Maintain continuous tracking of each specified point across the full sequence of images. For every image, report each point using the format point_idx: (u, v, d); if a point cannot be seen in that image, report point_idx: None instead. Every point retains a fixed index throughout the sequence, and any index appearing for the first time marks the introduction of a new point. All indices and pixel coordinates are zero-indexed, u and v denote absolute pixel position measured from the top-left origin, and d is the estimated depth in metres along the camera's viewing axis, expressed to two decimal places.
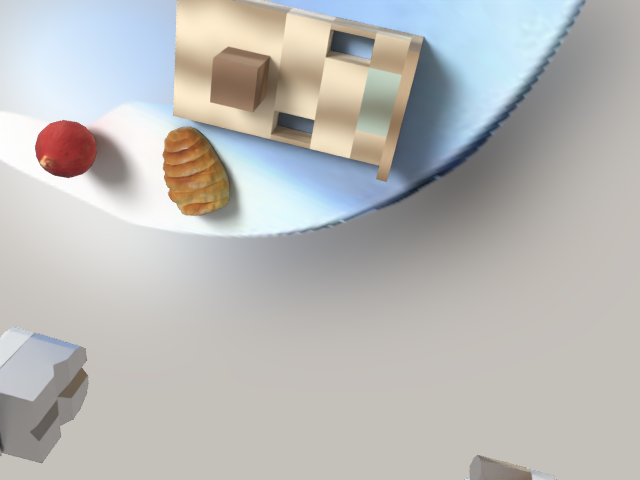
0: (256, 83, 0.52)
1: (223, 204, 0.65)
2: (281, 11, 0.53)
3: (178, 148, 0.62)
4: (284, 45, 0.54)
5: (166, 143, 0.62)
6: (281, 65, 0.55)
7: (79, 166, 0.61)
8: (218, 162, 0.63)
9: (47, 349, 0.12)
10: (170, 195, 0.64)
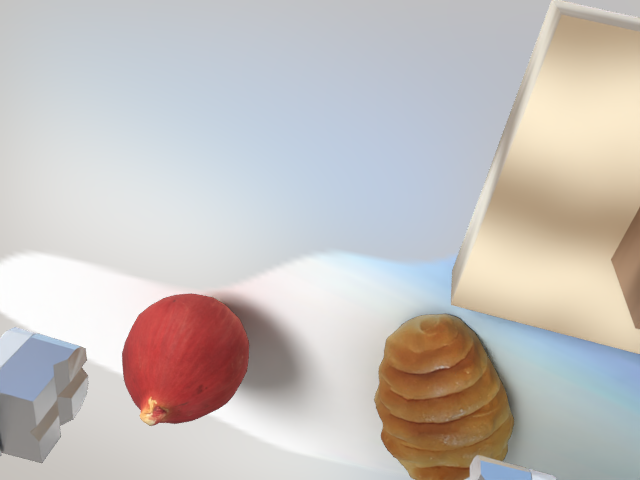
0: None
1: None
2: None
3: (427, 367, 0.28)
4: None
5: (395, 352, 0.28)
6: None
7: (221, 403, 0.27)
8: (501, 384, 0.29)
9: (47, 349, 0.12)
10: (389, 445, 0.31)
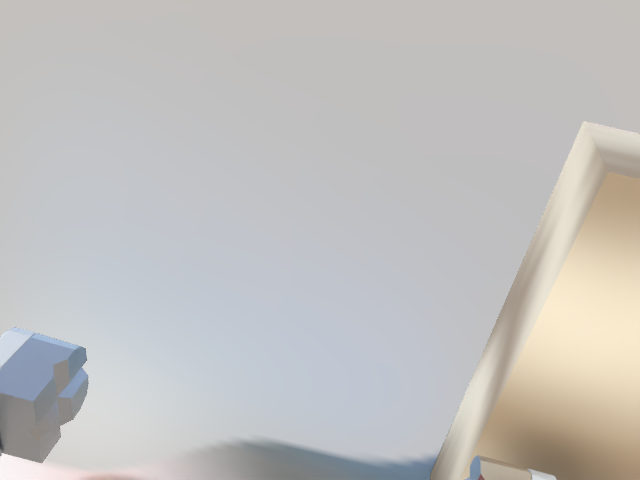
0: None
1: None
2: None
3: None
4: None
5: None
6: None
7: None
8: None
9: (47, 349, 0.12)
10: None
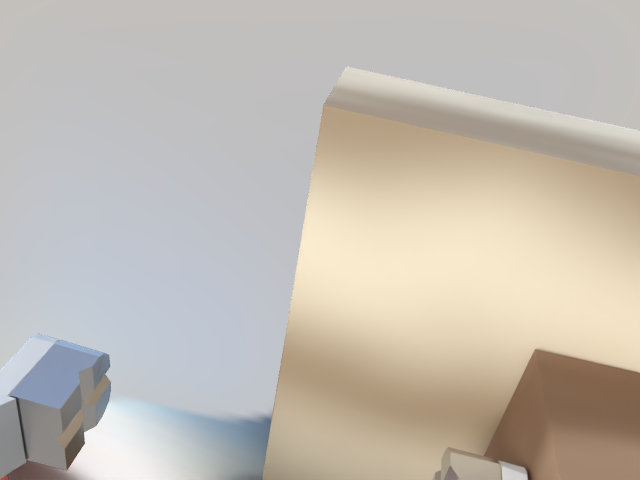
0: None
1: None
2: None
3: None
4: None
5: None
6: None
7: None
8: None
9: (72, 356, 0.12)
10: None
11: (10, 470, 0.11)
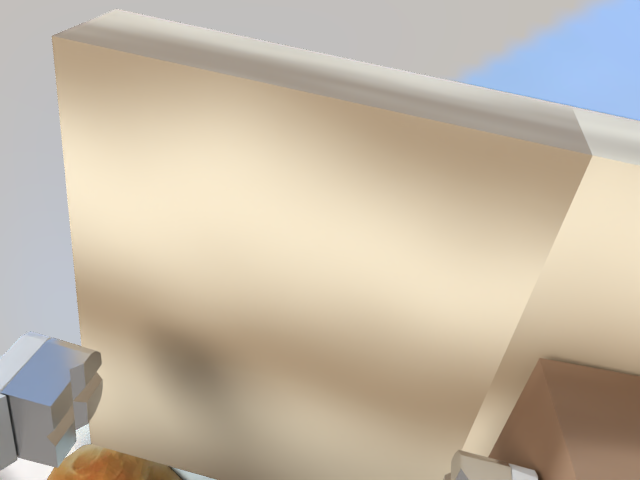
0: None
1: None
2: (559, 143, 0.11)
3: None
4: (545, 283, 0.12)
5: None
6: (513, 350, 0.13)
7: None
8: None
9: (63, 353, 0.12)
10: None
11: (1, 467, 0.11)
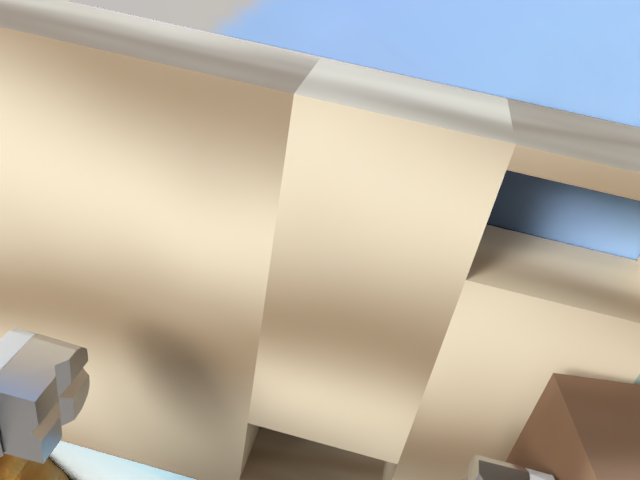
0: None
1: None
2: (268, 84, 0.11)
3: None
4: (283, 225, 0.12)
5: None
6: (272, 294, 0.13)
7: None
8: None
9: (49, 349, 0.12)
10: None
11: None
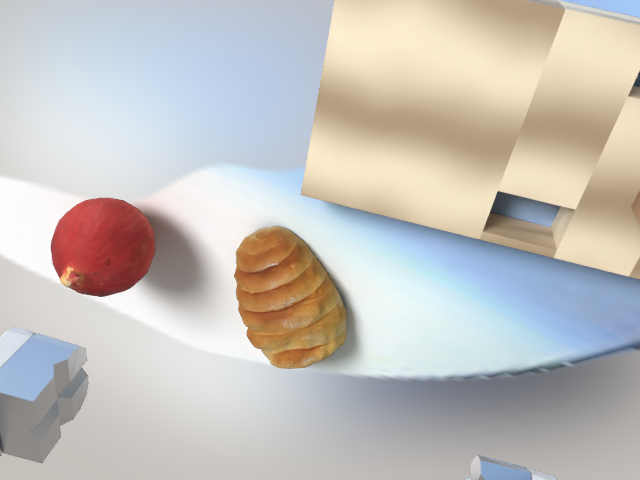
0: None
1: (339, 345, 0.39)
2: (552, 6, 0.26)
3: (261, 265, 0.36)
4: (545, 72, 0.28)
5: (240, 257, 0.37)
6: (530, 110, 0.29)
7: (128, 279, 0.35)
8: (327, 279, 0.38)
9: (47, 349, 0.12)
10: (251, 338, 0.39)
11: None
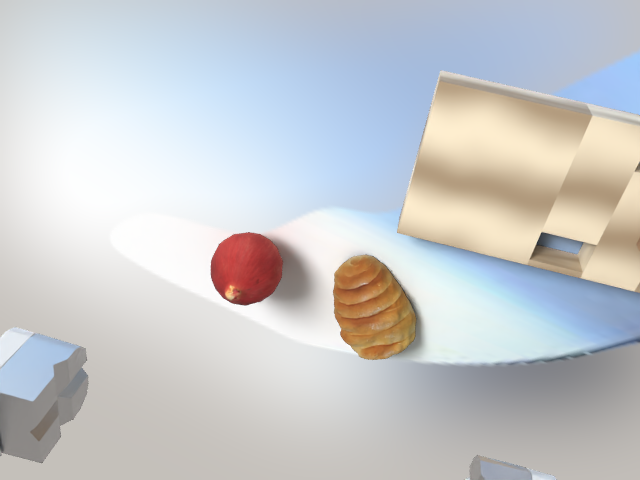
0: None
1: (411, 341, 0.52)
2: (583, 112, 0.39)
3: (355, 284, 0.49)
4: (578, 155, 0.40)
5: (338, 278, 0.50)
6: (566, 179, 0.41)
7: (268, 293, 0.48)
8: (403, 293, 0.51)
9: (47, 349, 0.12)
10: (344, 337, 0.52)
11: None
